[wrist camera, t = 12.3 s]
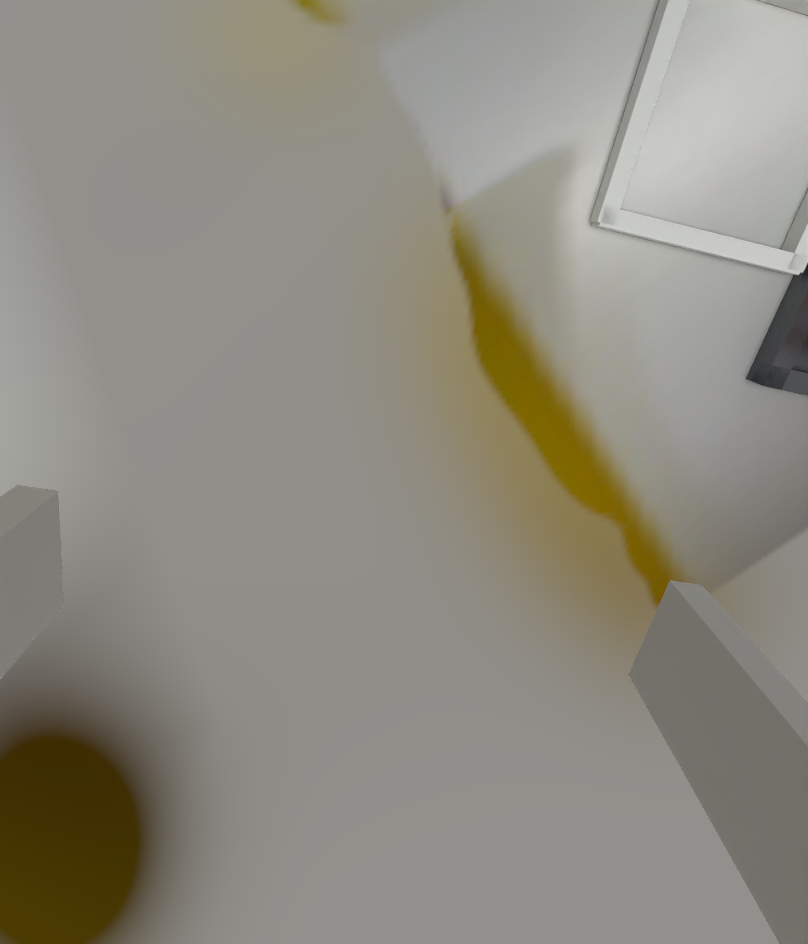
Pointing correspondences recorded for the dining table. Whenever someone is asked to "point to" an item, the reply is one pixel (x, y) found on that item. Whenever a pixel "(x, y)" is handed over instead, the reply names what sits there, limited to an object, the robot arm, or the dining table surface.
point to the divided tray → (786, 343)
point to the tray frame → (804, 235)
